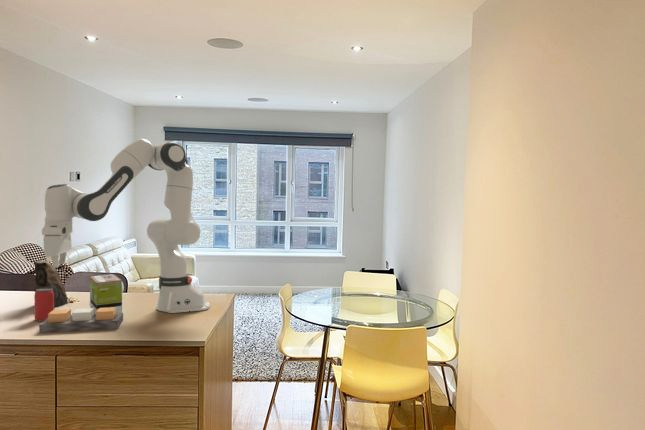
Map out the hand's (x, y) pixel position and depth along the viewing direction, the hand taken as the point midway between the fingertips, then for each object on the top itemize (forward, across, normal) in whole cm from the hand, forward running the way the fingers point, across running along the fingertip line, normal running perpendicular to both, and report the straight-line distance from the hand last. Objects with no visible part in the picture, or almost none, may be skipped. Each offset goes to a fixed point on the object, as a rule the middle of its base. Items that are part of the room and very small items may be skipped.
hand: (59, 265), depth 172 cm
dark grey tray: (+23, 0, +8) cm, 25 cm away
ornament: (+23, -44, +10) cm, 51 cm away
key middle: (+21, 0, +8) cm, 22 cm away
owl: (+23, -36, -13) cm, 45 cm away
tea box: (+24, -20, +12) cm, 33 cm away
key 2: (+21, 0, +16) cm, 26 cm away
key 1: (+21, 0, 0) cm, 21 cm away
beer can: (+23, -13, -9) cm, 28 cm away
